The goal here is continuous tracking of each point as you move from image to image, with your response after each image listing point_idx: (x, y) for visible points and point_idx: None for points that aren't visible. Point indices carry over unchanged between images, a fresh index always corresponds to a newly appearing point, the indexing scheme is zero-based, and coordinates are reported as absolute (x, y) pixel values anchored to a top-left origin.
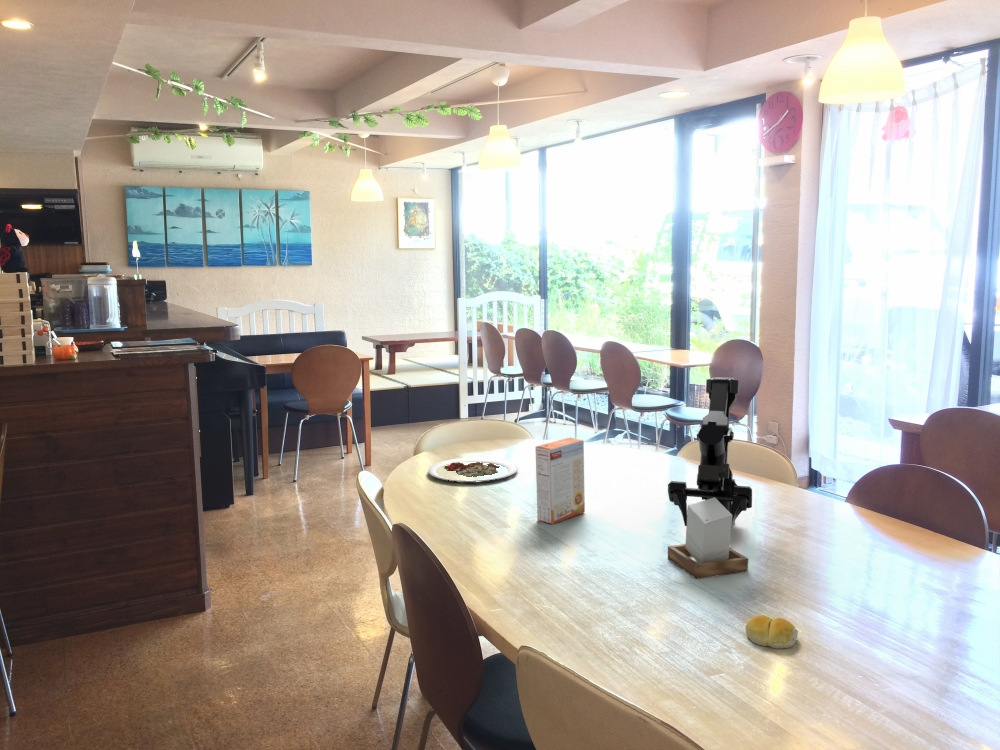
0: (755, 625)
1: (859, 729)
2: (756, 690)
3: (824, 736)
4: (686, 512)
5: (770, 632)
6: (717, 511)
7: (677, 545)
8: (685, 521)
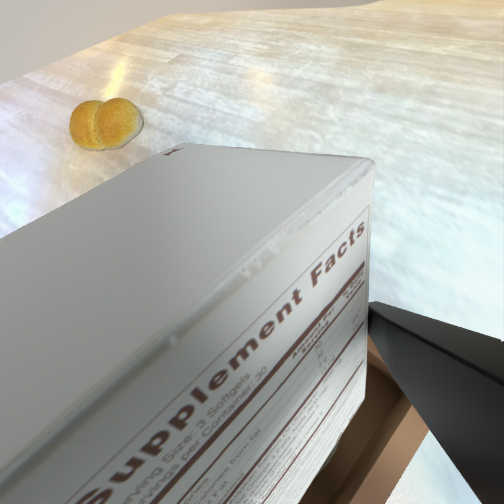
0: (120, 98)
1: (64, 64)
2: (136, 59)
3: (92, 49)
4: (424, 341)
5: (104, 102)
6: (69, 225)
7: (418, 424)
8: (379, 307)
